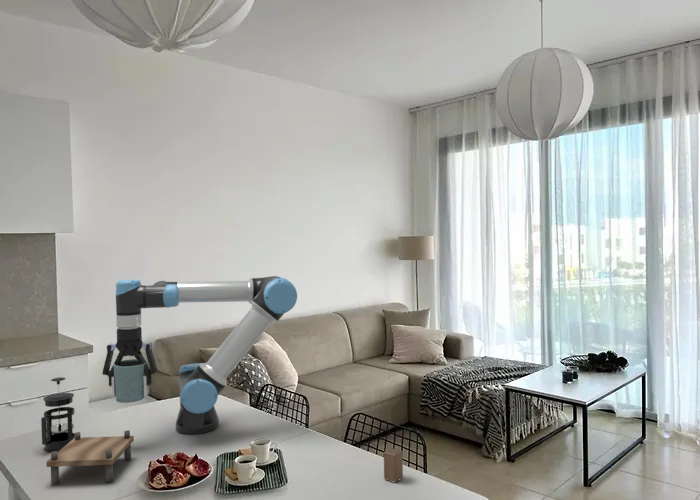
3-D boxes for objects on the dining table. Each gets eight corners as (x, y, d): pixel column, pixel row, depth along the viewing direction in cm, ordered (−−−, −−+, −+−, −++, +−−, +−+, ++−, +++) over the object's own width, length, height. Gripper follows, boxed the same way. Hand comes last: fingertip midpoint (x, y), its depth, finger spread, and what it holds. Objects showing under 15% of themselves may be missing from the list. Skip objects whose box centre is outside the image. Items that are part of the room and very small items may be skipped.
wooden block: (391, 474, 158) (391, 447, 158) (403, 478, 155) (403, 450, 155) (383, 479, 155) (383, 451, 155) (395, 483, 152) (394, 455, 152)
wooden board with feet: (134, 457, 173) (133, 429, 172) (112, 483, 155) (112, 452, 154) (75, 459, 172) (74, 431, 171) (47, 486, 154) (46, 454, 153)
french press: (62, 439, 189) (60, 373, 188) (84, 442, 186) (82, 375, 185) (32, 452, 178) (30, 382, 177) (55, 455, 175) (53, 384, 174)
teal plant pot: (122, 394, 185) (121, 358, 184) (152, 394, 184) (151, 358, 184) (108, 403, 175) (107, 366, 174) (139, 403, 174) (138, 366, 174)
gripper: (166, 324, 183) (168, 391, 184) (99, 325, 182) (100, 392, 183) (160, 328, 176) (161, 398, 176) (89, 329, 175) (91, 399, 175)
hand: (130, 395), depth 179 cm, fingers closed on teal plant pot, 9 cm apart
